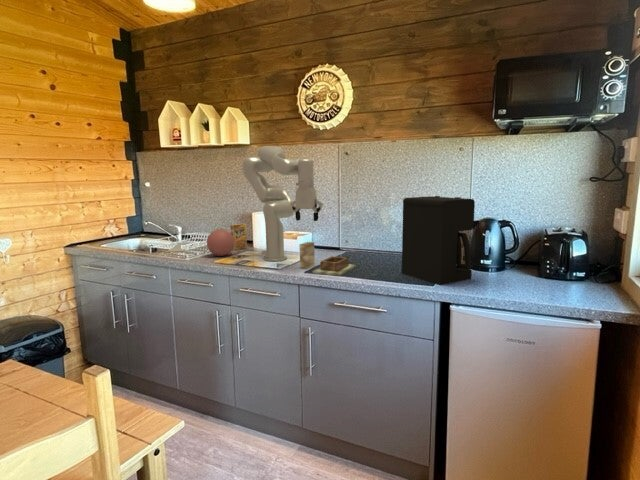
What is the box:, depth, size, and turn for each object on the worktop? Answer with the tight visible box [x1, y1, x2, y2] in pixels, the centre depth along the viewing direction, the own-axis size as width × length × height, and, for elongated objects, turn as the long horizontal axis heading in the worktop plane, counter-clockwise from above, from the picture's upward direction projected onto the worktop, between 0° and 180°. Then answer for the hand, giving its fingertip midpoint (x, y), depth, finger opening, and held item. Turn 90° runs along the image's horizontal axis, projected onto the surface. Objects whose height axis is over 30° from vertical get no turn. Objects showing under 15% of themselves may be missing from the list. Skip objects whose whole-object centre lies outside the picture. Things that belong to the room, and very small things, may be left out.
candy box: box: [230, 223, 248, 251], centre depth 257 cm, size 9×4×15 cm, turn 126°
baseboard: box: [165, 240, 192, 254], centre depth 263 cm, size 31×3×12 cm
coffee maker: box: [401, 195, 476, 286], centre depth 181 cm, size 28×20×35 cm
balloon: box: [206, 228, 235, 257], centre depth 238 cm, size 15×20×15 cm
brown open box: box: [312, 255, 357, 277], centre depth 199 cm, size 14×20×5 cm
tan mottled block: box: [298, 241, 316, 270], centre depth 205 cm, size 4×8×12 cm, turn 154°
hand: (306, 220), depth 202 cm, fingers open, 9 cm apart
